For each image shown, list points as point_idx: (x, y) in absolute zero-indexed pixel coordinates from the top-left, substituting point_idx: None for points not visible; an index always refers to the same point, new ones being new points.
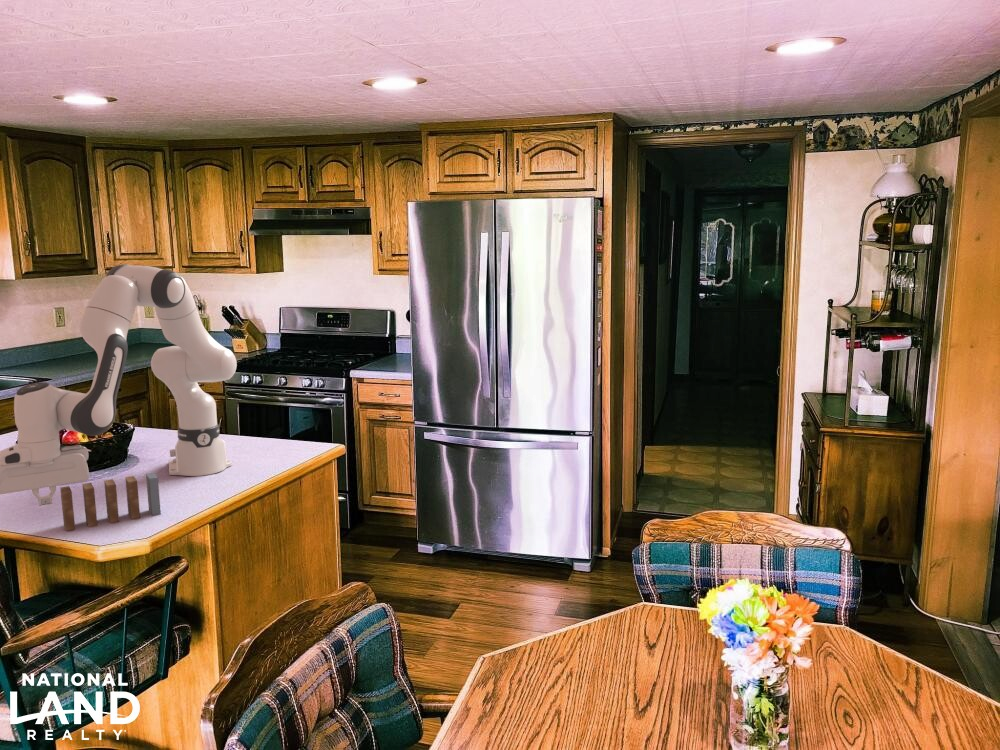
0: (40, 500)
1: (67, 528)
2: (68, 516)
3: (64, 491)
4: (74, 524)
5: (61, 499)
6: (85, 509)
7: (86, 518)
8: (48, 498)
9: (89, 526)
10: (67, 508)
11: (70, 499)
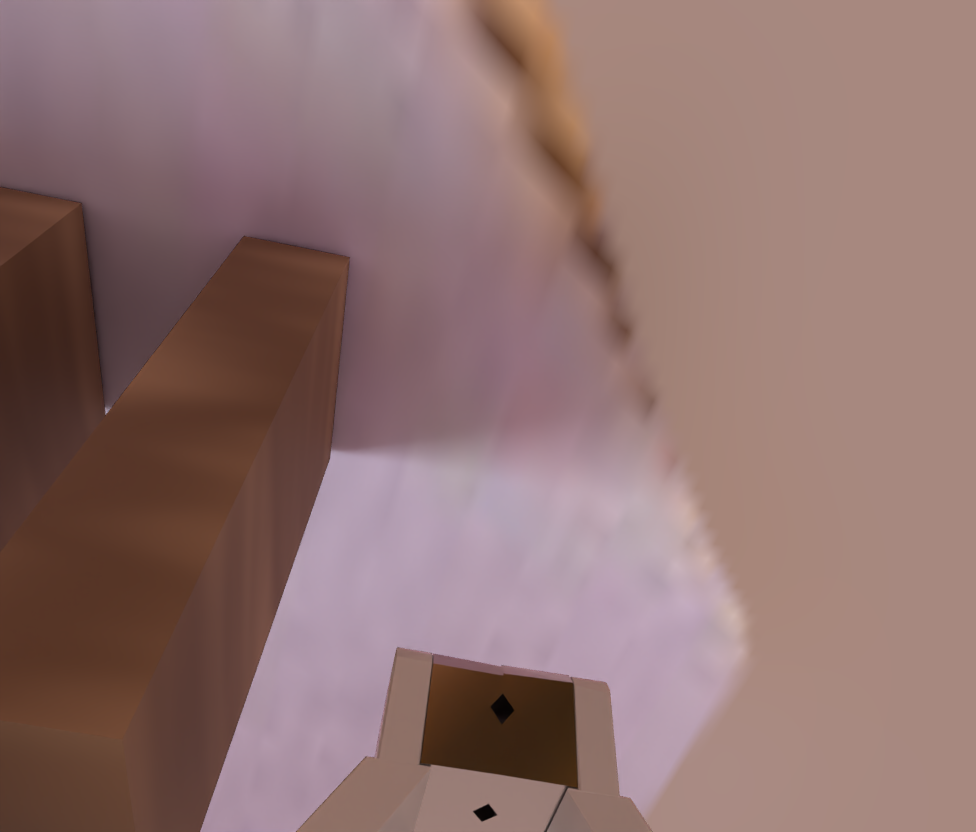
0: (586, 760)
1: (324, 270)
2: (248, 349)
3: (70, 773)
4: (223, 267)
5: (233, 726)
6: (5, 471)
7: (67, 382)
8: (443, 751)
9: (66, 203)
10: (203, 432)
11: (54, 539)
